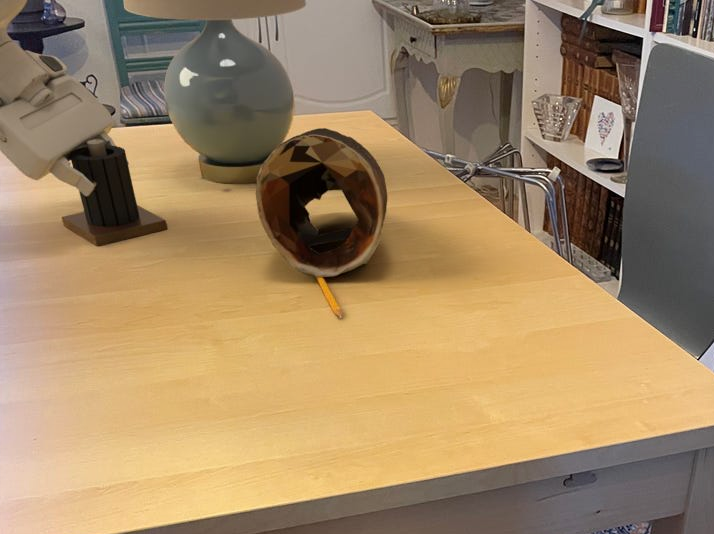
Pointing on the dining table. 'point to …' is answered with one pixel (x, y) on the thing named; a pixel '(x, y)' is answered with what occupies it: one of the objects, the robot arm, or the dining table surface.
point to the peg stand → (120, 232)
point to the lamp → (226, 86)
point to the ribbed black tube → (107, 187)
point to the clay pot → (310, 181)
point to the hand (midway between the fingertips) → (109, 180)
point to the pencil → (329, 296)
